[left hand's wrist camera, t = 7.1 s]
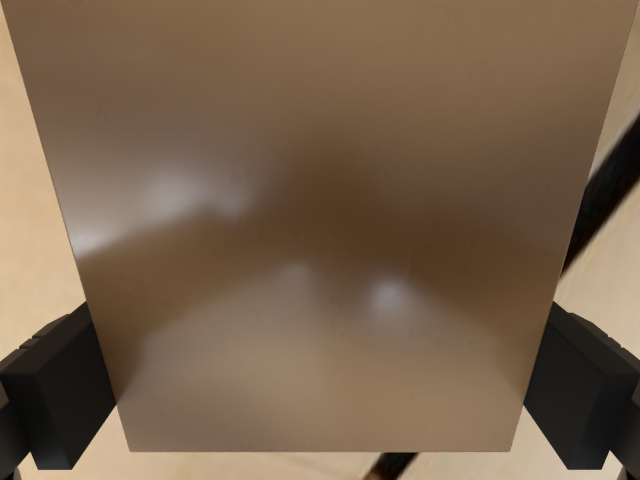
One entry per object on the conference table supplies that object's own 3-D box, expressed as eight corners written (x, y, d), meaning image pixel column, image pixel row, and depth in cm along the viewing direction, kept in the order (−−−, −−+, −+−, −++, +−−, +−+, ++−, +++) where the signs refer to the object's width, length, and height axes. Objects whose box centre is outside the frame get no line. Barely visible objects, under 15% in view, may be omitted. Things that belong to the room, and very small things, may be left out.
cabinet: (182, -102, 14) (-193, -663, 4) (457, -101, 14) (830, -664, 4) (225, 277, 20) (129, 453, 10) (414, 277, 20) (510, 452, 10)
